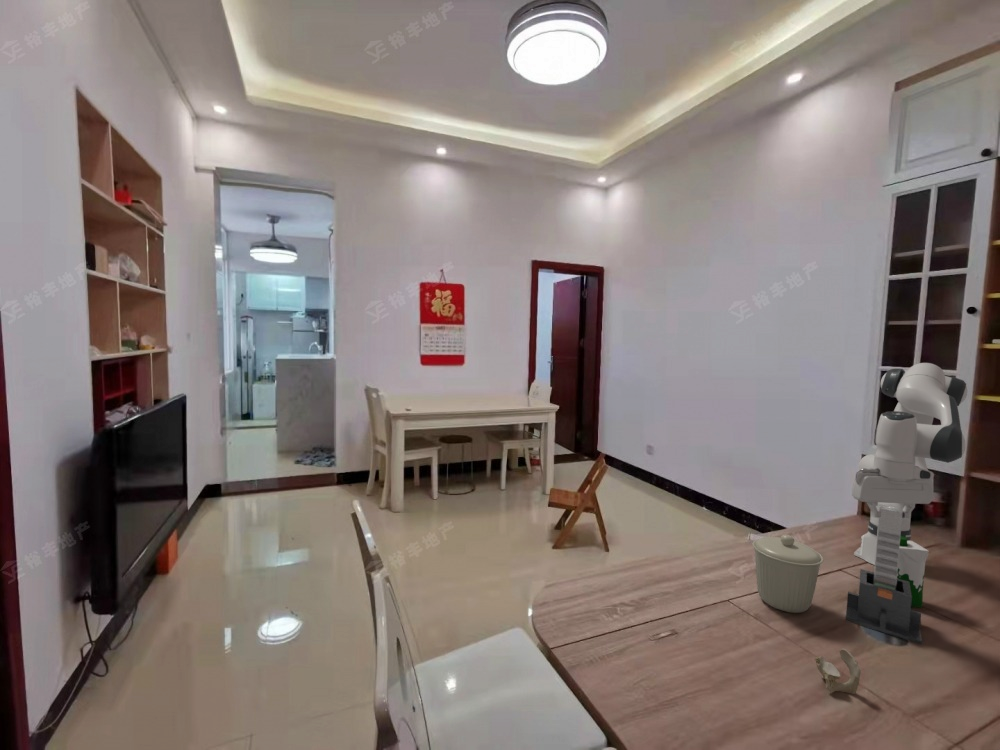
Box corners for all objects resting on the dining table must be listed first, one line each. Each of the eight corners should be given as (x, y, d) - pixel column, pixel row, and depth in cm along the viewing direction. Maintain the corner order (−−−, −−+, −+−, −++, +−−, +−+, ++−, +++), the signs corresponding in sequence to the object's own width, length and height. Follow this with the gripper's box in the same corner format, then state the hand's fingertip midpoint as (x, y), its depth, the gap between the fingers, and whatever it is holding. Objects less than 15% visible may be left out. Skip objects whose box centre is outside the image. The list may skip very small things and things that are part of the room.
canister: (812, 596, 141) (817, 530, 140) (826, 628, 125) (831, 553, 124) (747, 582, 149) (751, 519, 148) (751, 610, 133) (756, 540, 131)
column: (873, 584, 133) (879, 504, 132) (894, 590, 130) (901, 508, 129) (873, 592, 129) (879, 509, 127) (895, 598, 126) (902, 513, 124)
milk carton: (876, 591, 146) (881, 530, 145) (908, 594, 144) (913, 533, 143) (894, 605, 138) (899, 541, 136) (928, 610, 136) (934, 545, 135)
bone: (801, 674, 104) (818, 633, 106) (811, 679, 107) (827, 639, 109) (845, 702, 97) (862, 657, 99) (854, 706, 100) (870, 663, 102)
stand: (847, 597, 141) (850, 563, 141) (917, 618, 131) (920, 581, 131) (845, 620, 129) (848, 582, 128) (921, 644, 119) (925, 604, 118)
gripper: (865, 471, 125) (861, 520, 126) (940, 473, 125) (935, 522, 125) (848, 465, 131) (844, 512, 132) (919, 467, 131) (915, 514, 132)
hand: (889, 517), depth 129 cm, fingers closed on column, 7 cm apart
